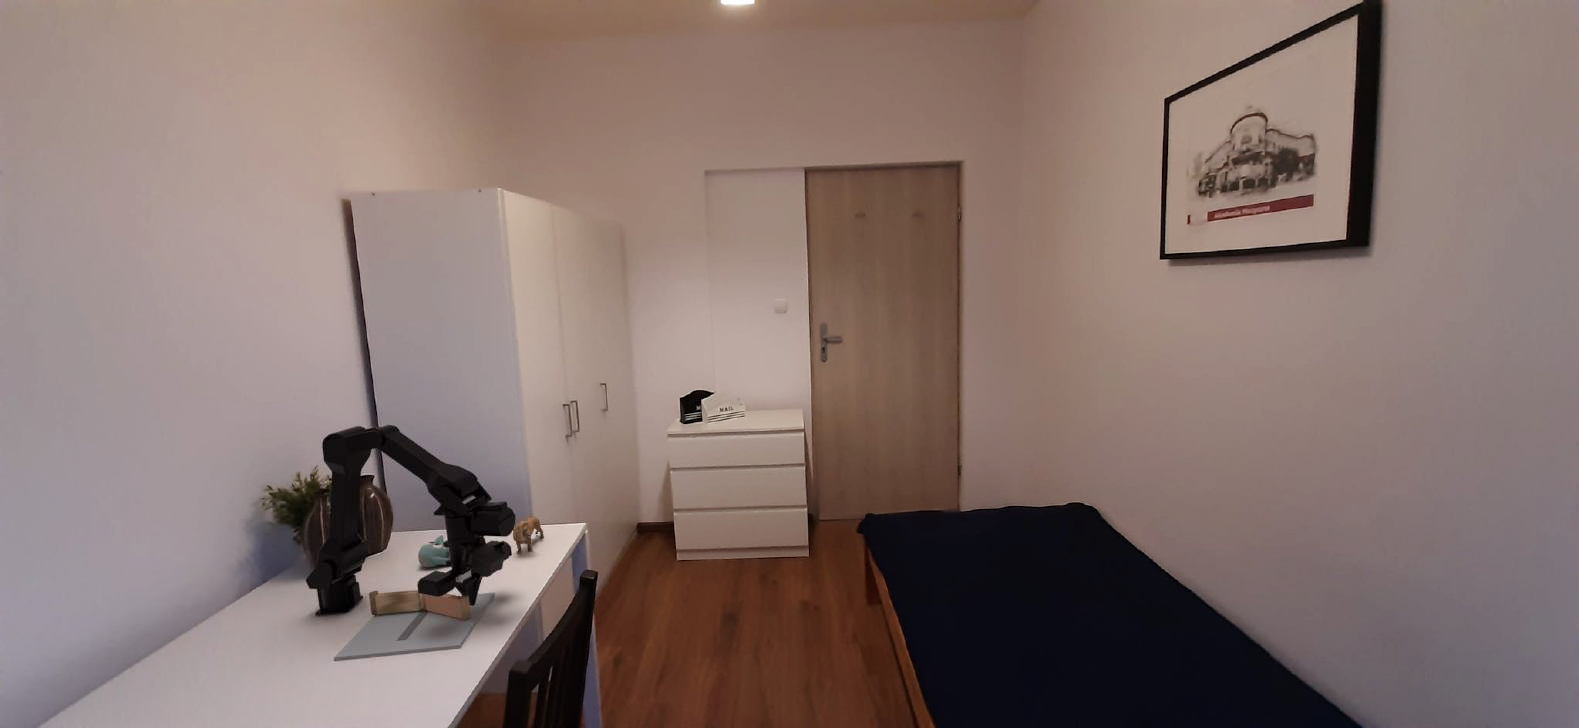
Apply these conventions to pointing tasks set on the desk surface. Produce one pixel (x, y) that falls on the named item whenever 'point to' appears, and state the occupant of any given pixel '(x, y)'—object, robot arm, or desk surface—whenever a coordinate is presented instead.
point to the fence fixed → (395, 602)
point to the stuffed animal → (433, 553)
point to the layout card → (413, 632)
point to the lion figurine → (526, 532)
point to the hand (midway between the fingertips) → (472, 605)
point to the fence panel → (447, 605)
